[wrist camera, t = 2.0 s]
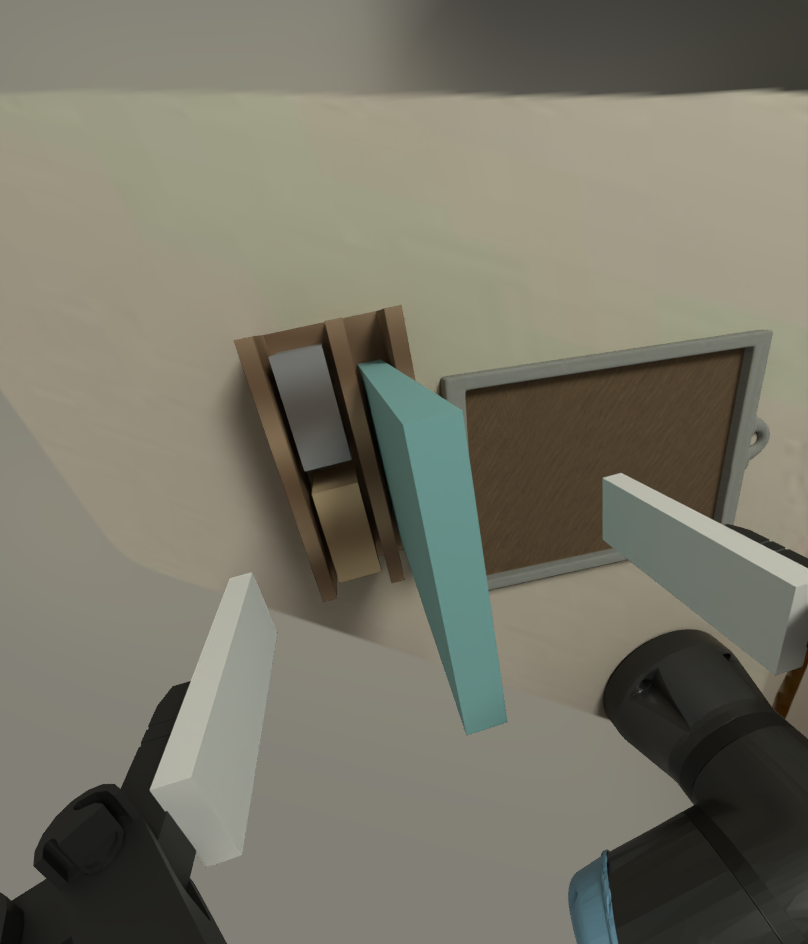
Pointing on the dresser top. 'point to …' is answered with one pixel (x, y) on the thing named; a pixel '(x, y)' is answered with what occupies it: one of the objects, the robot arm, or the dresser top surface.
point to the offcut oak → (345, 522)
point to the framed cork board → (605, 444)
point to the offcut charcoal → (311, 406)
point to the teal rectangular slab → (439, 532)
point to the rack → (344, 352)
